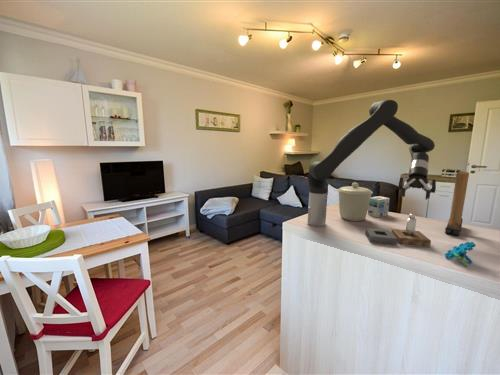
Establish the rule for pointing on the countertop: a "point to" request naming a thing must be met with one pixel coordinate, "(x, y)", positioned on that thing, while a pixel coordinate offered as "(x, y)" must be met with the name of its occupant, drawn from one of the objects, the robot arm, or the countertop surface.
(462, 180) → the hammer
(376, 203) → the light bulb box
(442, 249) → the countertop surface
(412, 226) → the steel pin
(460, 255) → the blue pixel flower
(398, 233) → the rack block
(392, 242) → the socket block
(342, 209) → the canister
